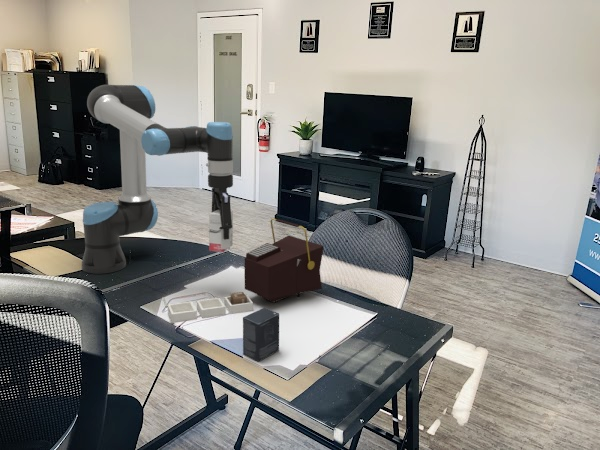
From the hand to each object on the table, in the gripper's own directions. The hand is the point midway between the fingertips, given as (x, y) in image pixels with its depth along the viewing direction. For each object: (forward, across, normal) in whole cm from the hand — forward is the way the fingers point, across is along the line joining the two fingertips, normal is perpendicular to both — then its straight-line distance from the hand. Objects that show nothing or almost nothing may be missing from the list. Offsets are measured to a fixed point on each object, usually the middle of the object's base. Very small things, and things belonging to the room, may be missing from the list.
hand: (221, 244), depth 158 cm
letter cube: (+17, +12, +2) cm, 21 cm away
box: (+18, +39, 0) cm, 43 cm away
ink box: (+2, 0, 0) cm, 2 cm away
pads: (+17, 0, -7) cm, 19 cm away
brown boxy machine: (+18, +8, +18) cm, 26 cm away
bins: (+17, +12, -6) cm, 22 cm away
